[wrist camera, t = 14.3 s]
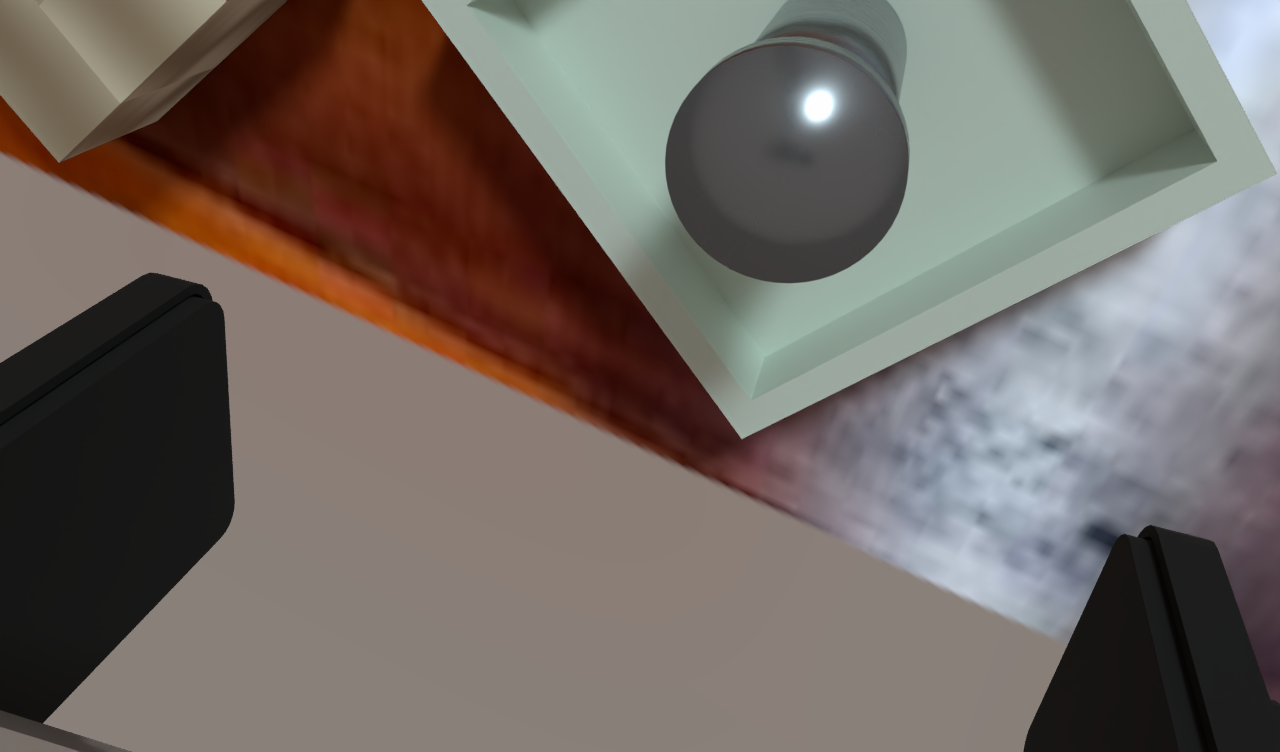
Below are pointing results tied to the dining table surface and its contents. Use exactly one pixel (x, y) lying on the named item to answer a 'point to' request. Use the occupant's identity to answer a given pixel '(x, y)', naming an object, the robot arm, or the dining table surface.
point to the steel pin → (796, 143)
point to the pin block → (112, 61)
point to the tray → (937, 178)
